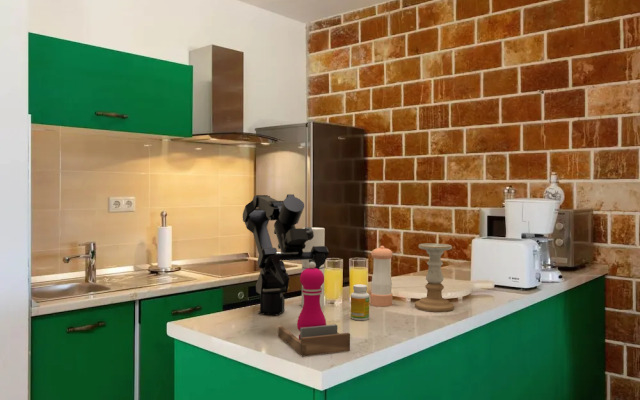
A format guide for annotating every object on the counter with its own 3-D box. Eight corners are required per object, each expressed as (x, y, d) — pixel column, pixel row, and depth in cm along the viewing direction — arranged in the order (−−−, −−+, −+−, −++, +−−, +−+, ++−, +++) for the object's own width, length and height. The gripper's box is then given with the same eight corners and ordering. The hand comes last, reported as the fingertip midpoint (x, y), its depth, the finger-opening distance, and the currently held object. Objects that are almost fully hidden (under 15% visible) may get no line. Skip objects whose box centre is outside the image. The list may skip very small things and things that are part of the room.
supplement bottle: (367, 321, 157) (368, 287, 156) (349, 320, 158) (349, 286, 157) (370, 316, 162) (370, 284, 162) (352, 315, 163) (352, 283, 163)
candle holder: (451, 313, 167) (452, 248, 166) (411, 310, 171) (412, 246, 171) (456, 305, 178) (457, 244, 178) (418, 302, 183) (419, 242, 182)
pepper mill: (296, 338, 138) (296, 259, 138) (324, 338, 139) (325, 259, 138) (297, 346, 131) (298, 263, 131) (327, 346, 132) (328, 263, 131)
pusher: (300, 348, 129) (300, 327, 129) (335, 344, 133) (335, 324, 133) (301, 349, 128) (301, 328, 128) (337, 345, 132) (337, 325, 132)
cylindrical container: (307, 309, 170) (308, 229, 170) (297, 305, 177) (298, 227, 176) (327, 307, 174) (328, 228, 173) (317, 303, 180) (318, 227, 179)
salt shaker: (366, 304, 178) (367, 246, 178) (376, 300, 184) (376, 244, 184) (386, 307, 174) (387, 247, 174) (396, 303, 181) (396, 245, 180)
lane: (278, 336, 140) (278, 320, 140) (321, 331, 145) (321, 316, 145) (302, 356, 124) (302, 338, 124) (349, 350, 129) (350, 333, 128)
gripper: (261, 217, 143) (273, 265, 133) (326, 216, 150) (343, 262, 140) (252, 244, 150) (263, 291, 140) (315, 242, 157) (330, 287, 148)
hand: (301, 282), depth 142 cm, fingers open, 9 cm apart
